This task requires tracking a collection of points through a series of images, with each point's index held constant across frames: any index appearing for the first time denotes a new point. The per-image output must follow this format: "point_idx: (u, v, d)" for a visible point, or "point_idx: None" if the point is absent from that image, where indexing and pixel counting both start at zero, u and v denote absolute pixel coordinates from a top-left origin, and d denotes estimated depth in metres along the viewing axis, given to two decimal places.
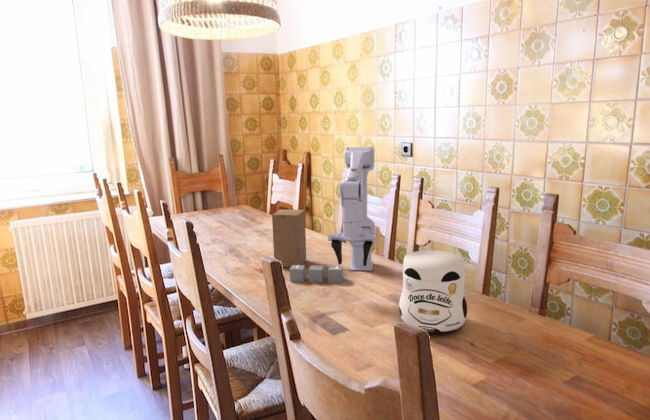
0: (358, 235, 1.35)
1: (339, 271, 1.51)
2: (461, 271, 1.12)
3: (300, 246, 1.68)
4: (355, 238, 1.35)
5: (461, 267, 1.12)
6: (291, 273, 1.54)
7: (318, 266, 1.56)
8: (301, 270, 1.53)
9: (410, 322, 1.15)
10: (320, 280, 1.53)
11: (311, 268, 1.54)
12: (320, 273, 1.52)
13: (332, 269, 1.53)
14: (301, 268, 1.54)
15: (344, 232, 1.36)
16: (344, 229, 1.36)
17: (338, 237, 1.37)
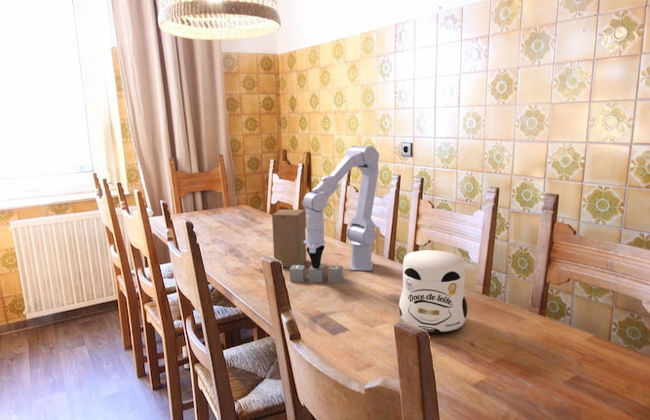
0: (309, 241, 1.51)
1: (339, 271, 1.51)
2: (461, 271, 1.12)
3: (300, 246, 1.68)
4: (306, 243, 1.52)
5: (461, 267, 1.12)
6: (291, 273, 1.54)
7: None
8: (301, 270, 1.53)
9: (410, 322, 1.15)
10: (320, 280, 1.53)
11: (311, 268, 1.54)
12: (320, 273, 1.52)
13: (332, 269, 1.53)
14: (301, 268, 1.54)
15: None
16: None
17: None
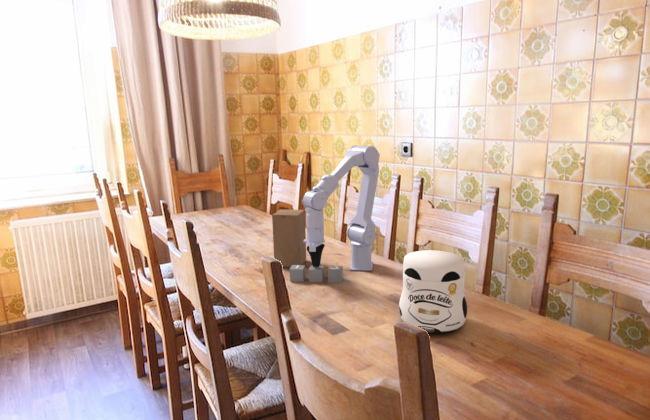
0: (309, 240, 1.51)
1: (339, 271, 1.51)
2: (461, 271, 1.12)
3: (300, 246, 1.68)
4: (306, 241, 1.52)
5: (461, 267, 1.12)
6: (291, 273, 1.54)
7: None
8: (301, 270, 1.53)
9: (410, 322, 1.15)
10: (320, 280, 1.53)
11: (311, 268, 1.54)
12: (320, 273, 1.52)
13: (332, 269, 1.53)
14: (301, 268, 1.54)
15: None
16: None
17: None
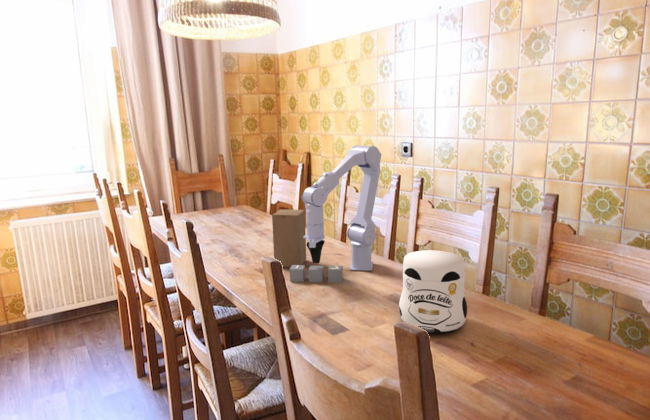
0: (309, 236, 1.50)
1: (339, 271, 1.51)
2: (461, 271, 1.12)
3: (300, 246, 1.68)
4: (306, 238, 1.51)
5: (461, 267, 1.12)
6: (291, 273, 1.54)
7: (318, 266, 1.56)
8: (301, 270, 1.53)
9: (410, 322, 1.15)
10: (320, 280, 1.53)
11: (311, 268, 1.54)
12: (320, 273, 1.52)
13: (332, 269, 1.53)
14: (301, 268, 1.54)
15: None
16: None
17: None
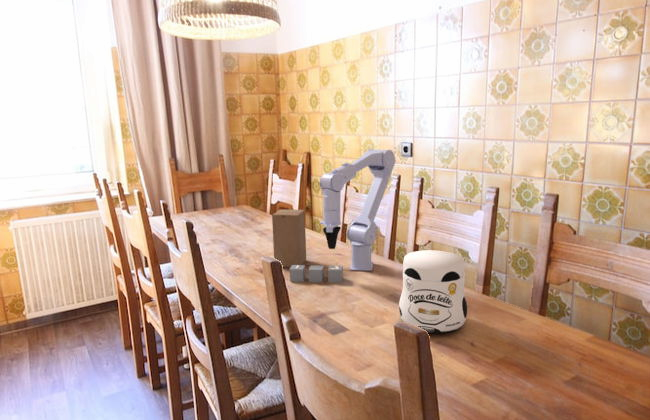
0: (325, 221, 1.52)
1: (339, 271, 1.51)
2: (461, 271, 1.12)
3: (300, 246, 1.68)
4: (323, 223, 1.53)
5: (461, 267, 1.12)
6: (291, 273, 1.54)
7: (318, 266, 1.56)
8: (301, 270, 1.53)
9: (410, 322, 1.15)
10: (320, 280, 1.53)
11: (311, 268, 1.54)
12: (320, 273, 1.52)
13: (332, 269, 1.53)
14: (301, 268, 1.54)
15: None
16: None
17: None
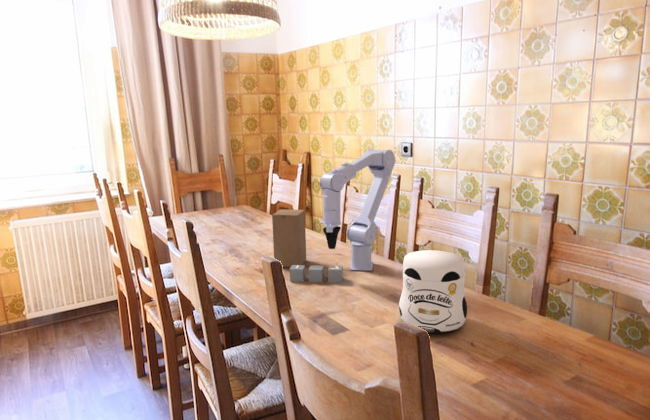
0: (325, 221, 1.52)
1: (339, 271, 1.51)
2: (461, 271, 1.12)
3: (300, 246, 1.68)
4: (323, 223, 1.53)
5: (461, 267, 1.12)
6: (291, 273, 1.54)
7: (318, 266, 1.56)
8: (301, 270, 1.53)
9: (410, 322, 1.15)
10: (320, 280, 1.53)
11: (311, 268, 1.54)
12: (320, 273, 1.52)
13: (332, 269, 1.53)
14: (301, 268, 1.54)
15: None
16: None
17: None
